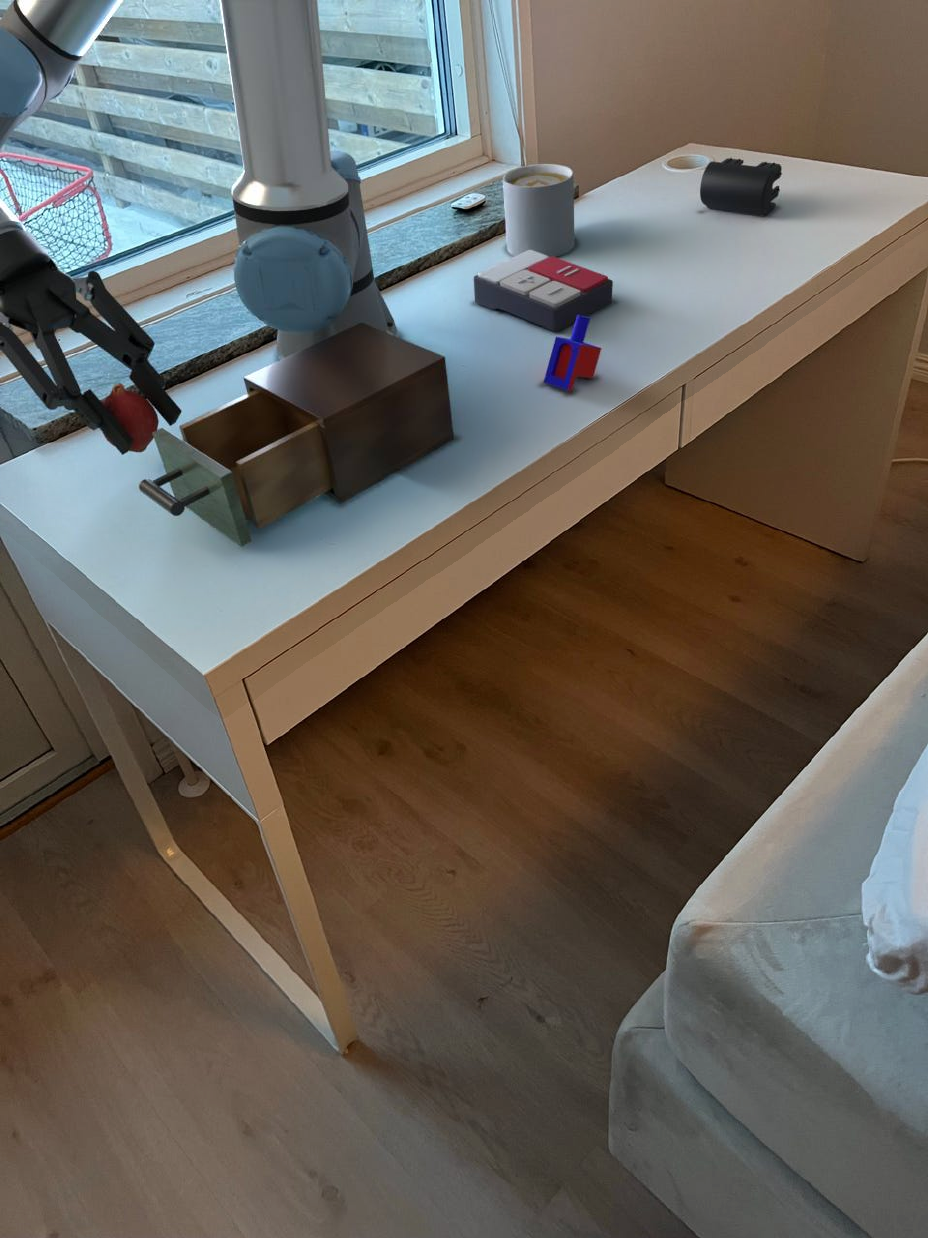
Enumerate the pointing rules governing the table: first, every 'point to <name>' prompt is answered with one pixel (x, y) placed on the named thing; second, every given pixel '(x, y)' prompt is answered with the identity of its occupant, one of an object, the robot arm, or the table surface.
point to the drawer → (241, 465)
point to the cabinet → (365, 402)
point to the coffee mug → (539, 209)
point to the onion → (133, 416)
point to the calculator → (542, 289)
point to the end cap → (740, 186)
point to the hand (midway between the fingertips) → (152, 432)
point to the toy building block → (572, 357)
